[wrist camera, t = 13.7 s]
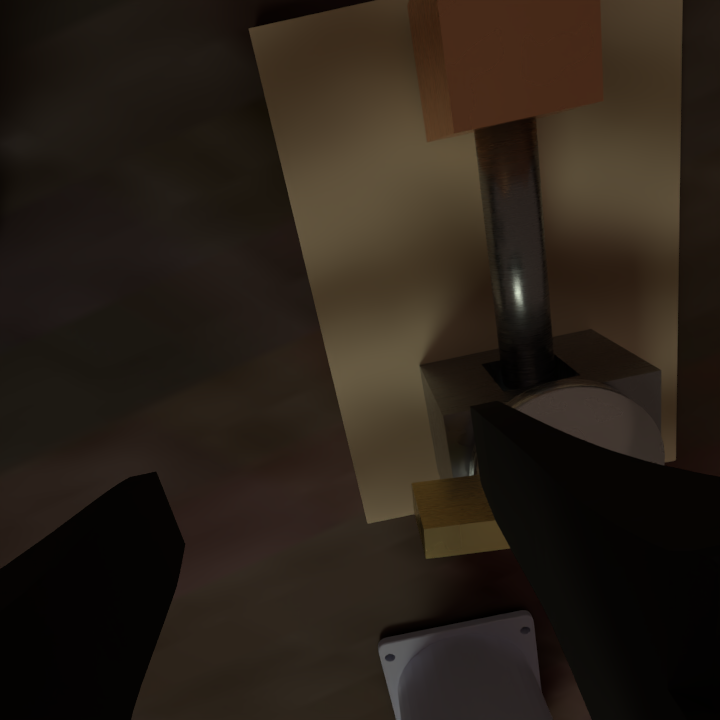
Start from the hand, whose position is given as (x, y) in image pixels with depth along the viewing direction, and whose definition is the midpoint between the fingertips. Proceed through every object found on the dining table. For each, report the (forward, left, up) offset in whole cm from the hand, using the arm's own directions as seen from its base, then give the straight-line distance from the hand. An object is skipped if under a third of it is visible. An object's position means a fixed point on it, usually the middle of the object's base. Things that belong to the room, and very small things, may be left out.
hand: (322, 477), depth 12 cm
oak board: (+1, -7, -10) cm, 12 cm away
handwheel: (-4, -6, -4) cm, 8 cm away
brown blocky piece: (+4, -7, -9) cm, 12 cm away
